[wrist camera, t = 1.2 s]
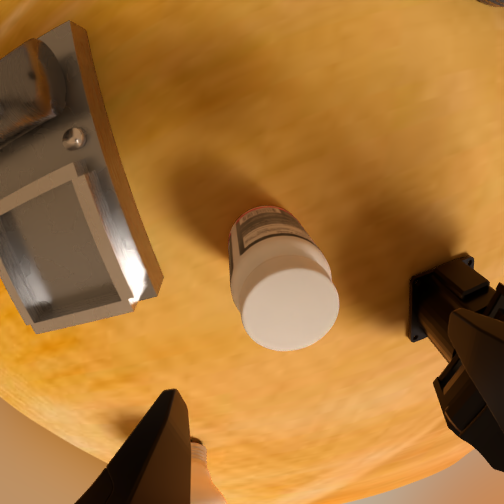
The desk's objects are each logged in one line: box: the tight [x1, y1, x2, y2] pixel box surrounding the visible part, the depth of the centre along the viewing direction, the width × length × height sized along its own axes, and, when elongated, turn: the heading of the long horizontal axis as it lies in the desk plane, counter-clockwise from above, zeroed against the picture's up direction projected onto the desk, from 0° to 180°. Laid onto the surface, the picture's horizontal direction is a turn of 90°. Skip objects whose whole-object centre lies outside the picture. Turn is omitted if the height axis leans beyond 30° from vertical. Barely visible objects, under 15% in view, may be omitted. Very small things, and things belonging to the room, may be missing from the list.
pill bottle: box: [228, 206, 339, 351], centre depth 16 cm, size 5×5×8 cm
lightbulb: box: [190, 442, 227, 504], centre depth 23 cm, size 6×6×11 cm
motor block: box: [0, 20, 164, 334], centre depth 14 cm, size 17×11×7 cm, turn 15°
